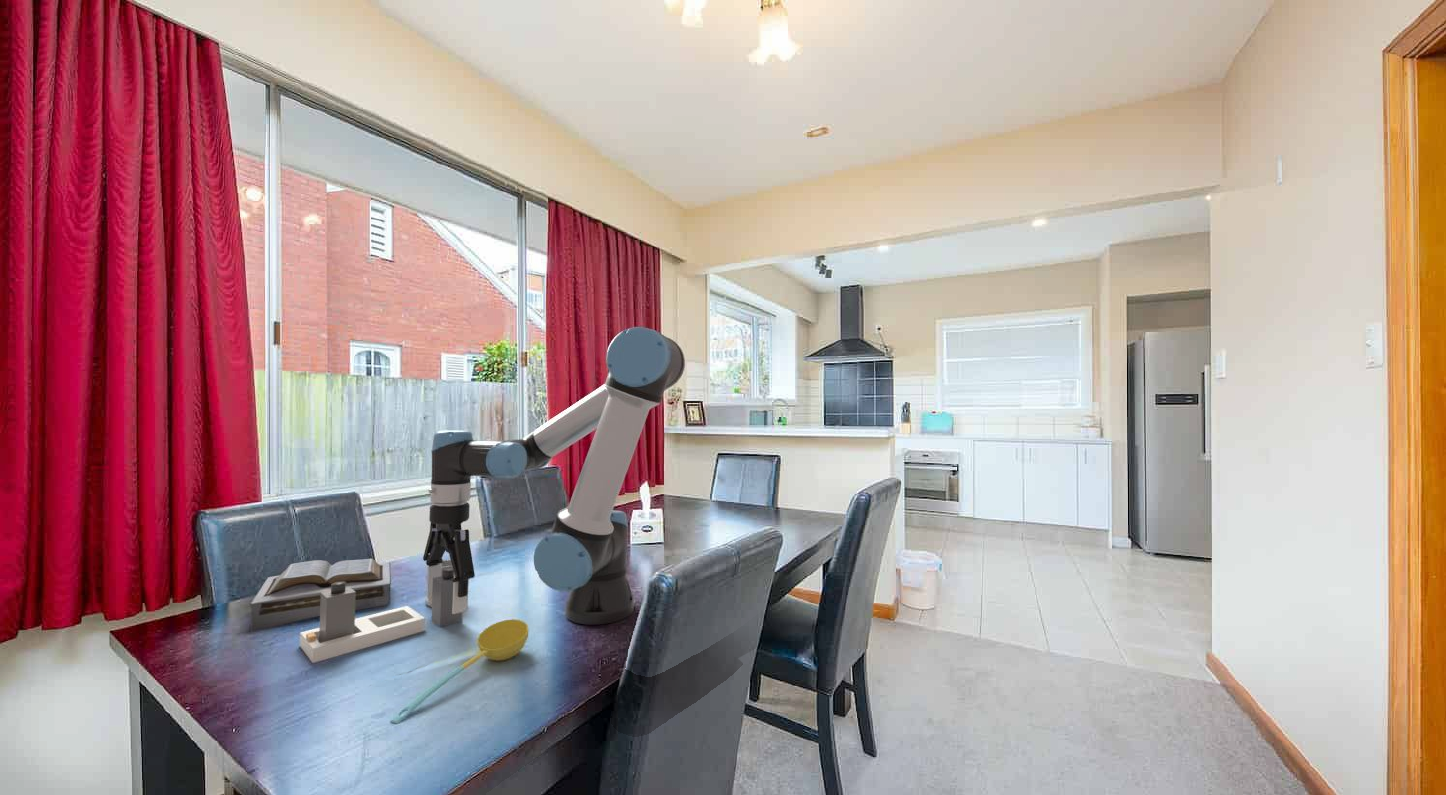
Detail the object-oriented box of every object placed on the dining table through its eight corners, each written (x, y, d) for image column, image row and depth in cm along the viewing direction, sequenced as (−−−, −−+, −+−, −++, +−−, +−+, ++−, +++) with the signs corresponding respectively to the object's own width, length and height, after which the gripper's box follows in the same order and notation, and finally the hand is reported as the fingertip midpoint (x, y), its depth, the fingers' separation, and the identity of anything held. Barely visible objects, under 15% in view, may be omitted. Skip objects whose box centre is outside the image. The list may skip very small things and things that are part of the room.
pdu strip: (424, 635, 103) (425, 614, 103) (312, 668, 89) (313, 643, 90) (406, 622, 110) (407, 602, 110) (299, 651, 96) (300, 628, 96)
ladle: (540, 644, 98) (537, 617, 97) (420, 761, 74) (415, 727, 73) (503, 636, 101) (500, 609, 100) (376, 745, 77) (370, 712, 76)
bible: (275, 598, 124) (277, 557, 124) (404, 585, 134) (406, 547, 135) (226, 637, 102) (228, 587, 103) (385, 617, 113) (386, 572, 113)
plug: (461, 625, 108) (463, 570, 109) (439, 631, 105) (441, 574, 105) (453, 619, 111) (454, 565, 112) (431, 625, 108) (433, 570, 108)
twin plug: (353, 645, 96) (355, 583, 97) (324, 653, 93) (327, 589, 93) (347, 638, 99) (349, 578, 100) (318, 646, 96) (321, 583, 96)
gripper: (409, 497, 114) (405, 593, 114) (456, 513, 98) (452, 625, 97) (444, 494, 120) (441, 585, 119) (495, 508, 104) (491, 614, 103)
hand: (446, 603), depth 108 cm, fingers open, 13 cm apart
